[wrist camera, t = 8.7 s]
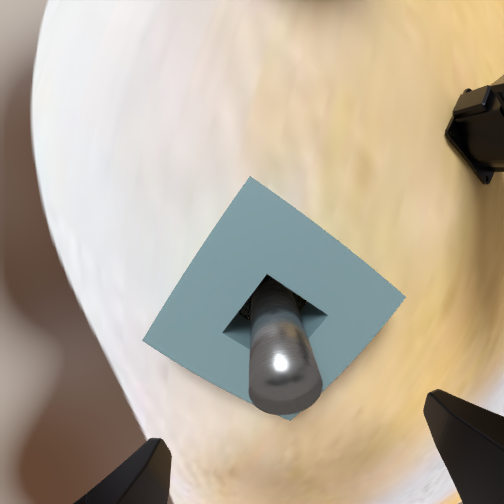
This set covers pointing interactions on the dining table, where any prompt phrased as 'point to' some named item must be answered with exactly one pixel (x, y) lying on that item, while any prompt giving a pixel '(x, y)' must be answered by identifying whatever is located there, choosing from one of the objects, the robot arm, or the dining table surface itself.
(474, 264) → the dining table surface
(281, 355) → the peg
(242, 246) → the hole block
